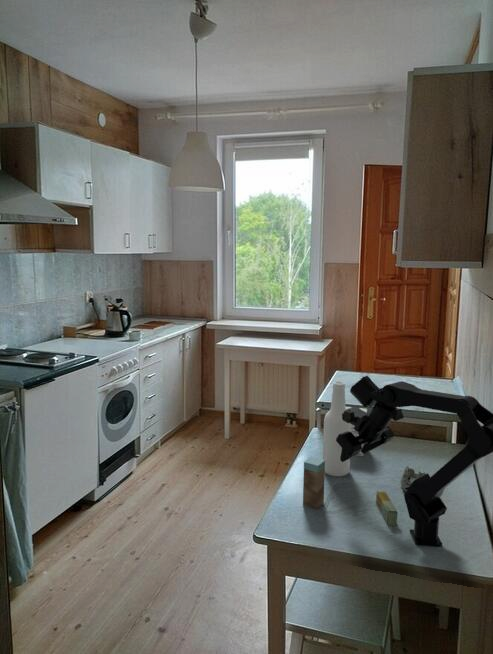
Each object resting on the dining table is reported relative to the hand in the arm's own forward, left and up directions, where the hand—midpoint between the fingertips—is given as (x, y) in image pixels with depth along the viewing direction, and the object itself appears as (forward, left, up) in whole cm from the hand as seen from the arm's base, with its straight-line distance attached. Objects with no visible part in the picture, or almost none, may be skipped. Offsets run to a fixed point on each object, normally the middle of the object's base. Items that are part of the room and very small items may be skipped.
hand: (352, 456), depth 145 cm
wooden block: (-2, +11, -14) cm, 18 cm away
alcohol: (+20, +2, -14) cm, 25 cm away
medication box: (-6, -9, -14) cm, 18 cm away
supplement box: (+38, -6, -14) cm, 41 cm away
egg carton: (+12, -22, -14) cm, 29 cm away
